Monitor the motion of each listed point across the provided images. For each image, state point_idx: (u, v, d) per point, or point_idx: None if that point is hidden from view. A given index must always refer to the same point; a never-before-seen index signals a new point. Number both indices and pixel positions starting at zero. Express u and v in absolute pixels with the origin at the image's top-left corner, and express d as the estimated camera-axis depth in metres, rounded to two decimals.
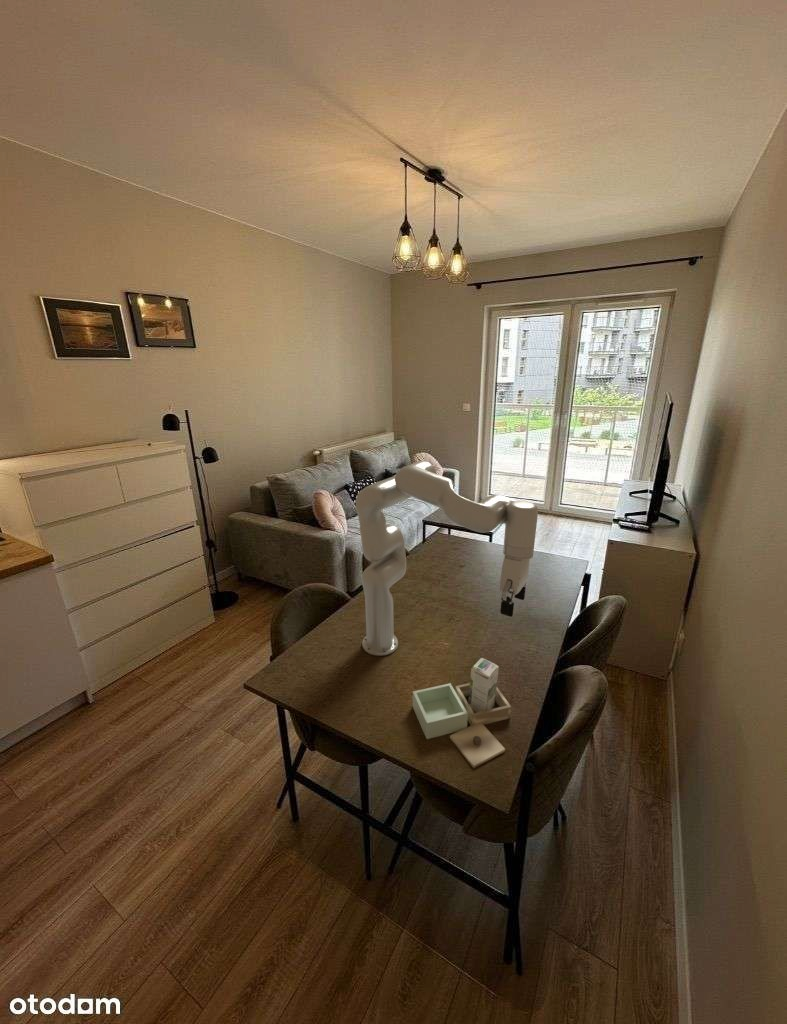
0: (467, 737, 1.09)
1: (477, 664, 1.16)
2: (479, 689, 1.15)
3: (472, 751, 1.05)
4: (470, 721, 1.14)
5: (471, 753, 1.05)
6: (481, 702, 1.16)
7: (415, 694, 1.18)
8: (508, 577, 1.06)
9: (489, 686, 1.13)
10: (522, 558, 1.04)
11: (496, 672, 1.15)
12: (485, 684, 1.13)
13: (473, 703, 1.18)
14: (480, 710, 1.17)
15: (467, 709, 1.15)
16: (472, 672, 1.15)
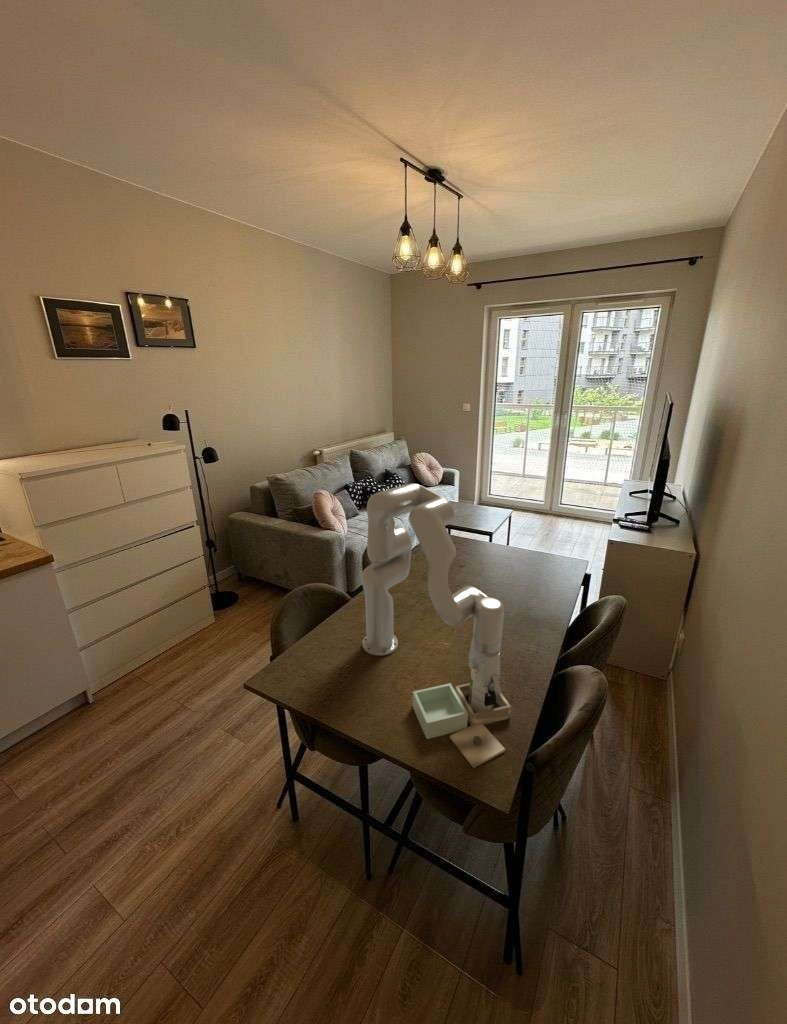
0: (467, 737, 1.09)
1: None
2: (479, 689, 1.15)
3: (472, 751, 1.05)
4: (470, 721, 1.14)
5: (471, 753, 1.05)
6: (481, 702, 1.16)
7: (415, 694, 1.18)
8: (493, 673, 1.10)
9: (489, 686, 1.13)
10: (499, 650, 1.11)
11: None
12: None
13: (473, 703, 1.18)
14: (480, 710, 1.17)
15: (467, 709, 1.15)
16: (472, 672, 1.15)
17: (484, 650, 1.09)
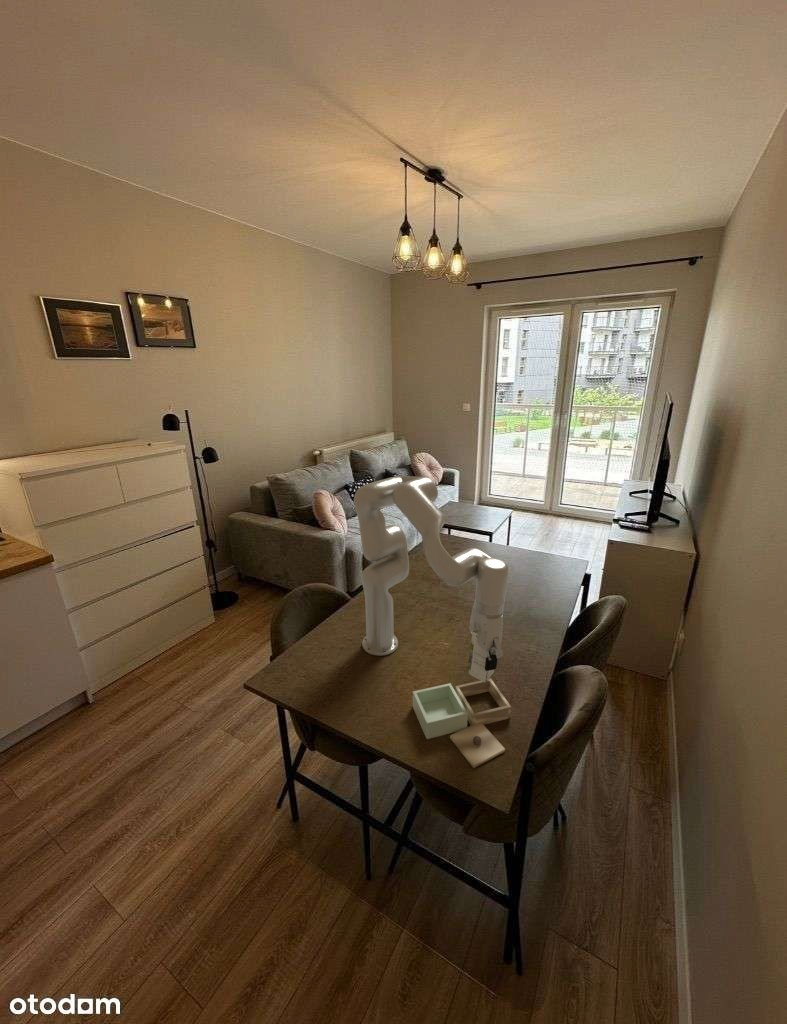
0: (467, 737, 1.09)
1: None
2: (479, 653, 1.12)
3: (472, 751, 1.05)
4: (470, 721, 1.14)
5: (471, 753, 1.05)
6: (482, 667, 1.12)
7: (415, 694, 1.18)
8: (495, 636, 1.06)
9: (490, 651, 1.10)
10: (502, 613, 1.07)
11: None
12: None
13: (473, 669, 1.15)
14: (480, 675, 1.14)
15: (467, 709, 1.15)
16: (473, 636, 1.12)
17: (486, 612, 1.06)
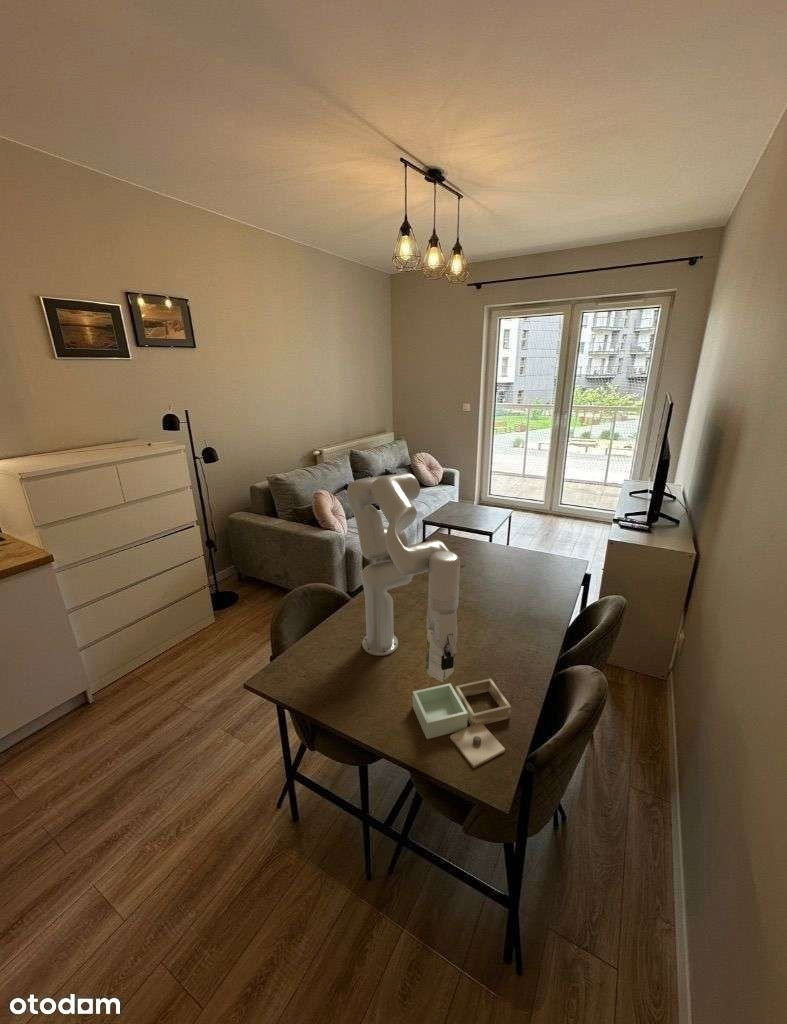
0: (467, 737, 1.09)
1: None
2: (436, 652, 1.07)
3: (472, 751, 1.05)
4: (470, 721, 1.14)
5: (471, 753, 1.05)
6: (439, 666, 1.07)
7: (415, 694, 1.18)
8: (448, 632, 1.02)
9: (446, 648, 1.05)
10: (456, 608, 1.02)
11: None
12: None
13: (431, 668, 1.09)
14: (438, 675, 1.08)
15: (467, 709, 1.15)
16: (428, 633, 1.07)
17: (439, 607, 1.01)
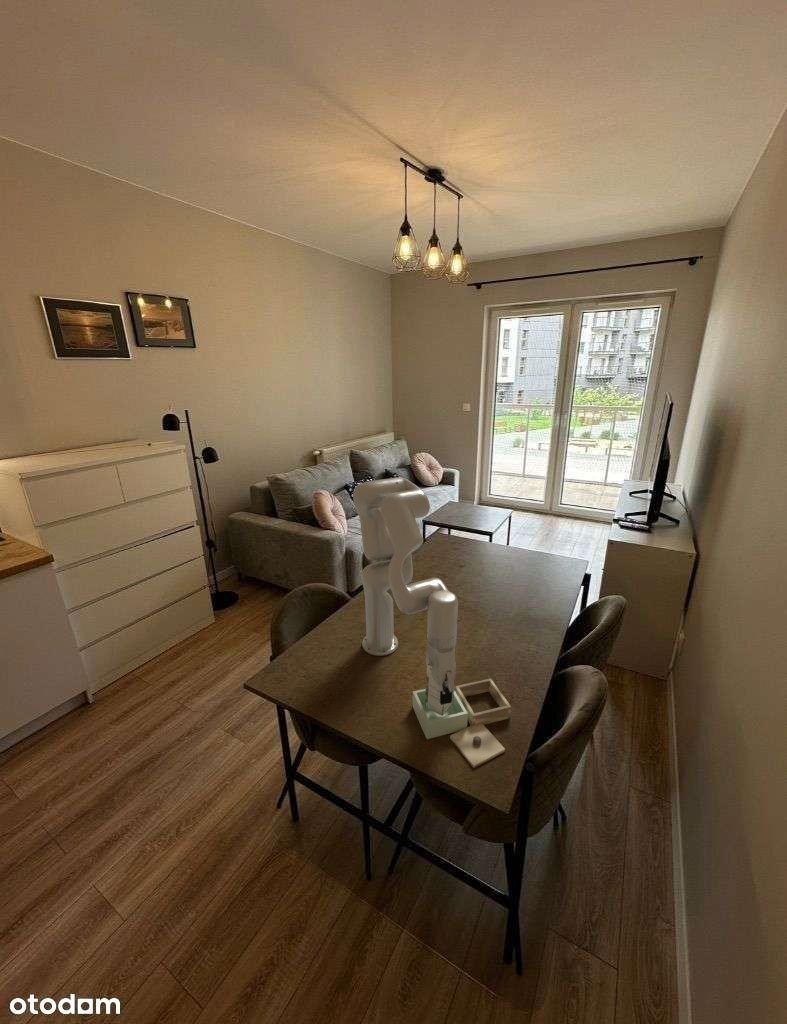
0: (467, 737, 1.09)
1: None
2: (435, 687, 1.10)
3: (472, 751, 1.05)
4: (470, 721, 1.14)
5: (471, 753, 1.05)
6: (438, 700, 1.11)
7: (415, 694, 1.18)
8: (447, 669, 1.05)
9: (444, 684, 1.08)
10: (454, 646, 1.06)
11: None
12: None
13: (430, 702, 1.13)
14: (437, 709, 1.12)
15: (467, 709, 1.15)
16: (428, 669, 1.10)
17: (438, 646, 1.05)
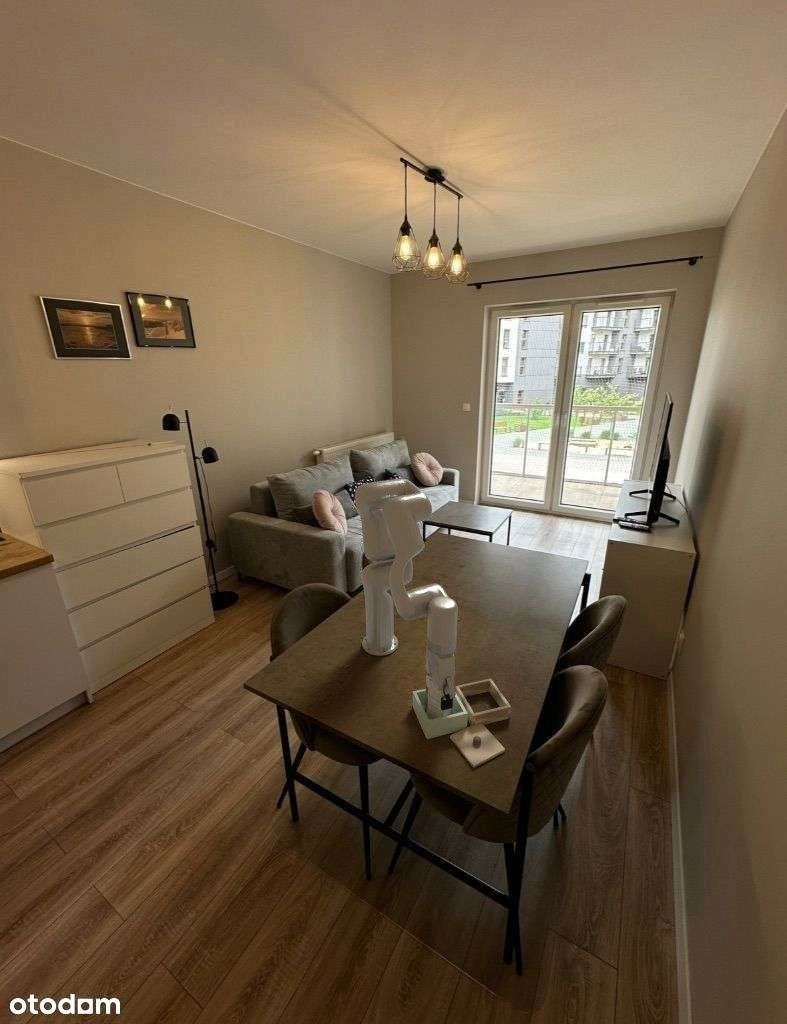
0: (467, 737, 1.09)
1: None
2: (434, 697, 1.11)
3: (472, 751, 1.05)
4: (470, 721, 1.14)
5: (471, 753, 1.05)
6: (437, 710, 1.12)
7: (415, 694, 1.18)
8: (447, 675, 1.06)
9: None
10: (453, 651, 1.06)
11: None
12: (439, 691, 1.09)
13: (429, 711, 1.14)
14: None
15: (467, 709, 1.15)
16: (427, 679, 1.11)
17: (437, 652, 1.05)
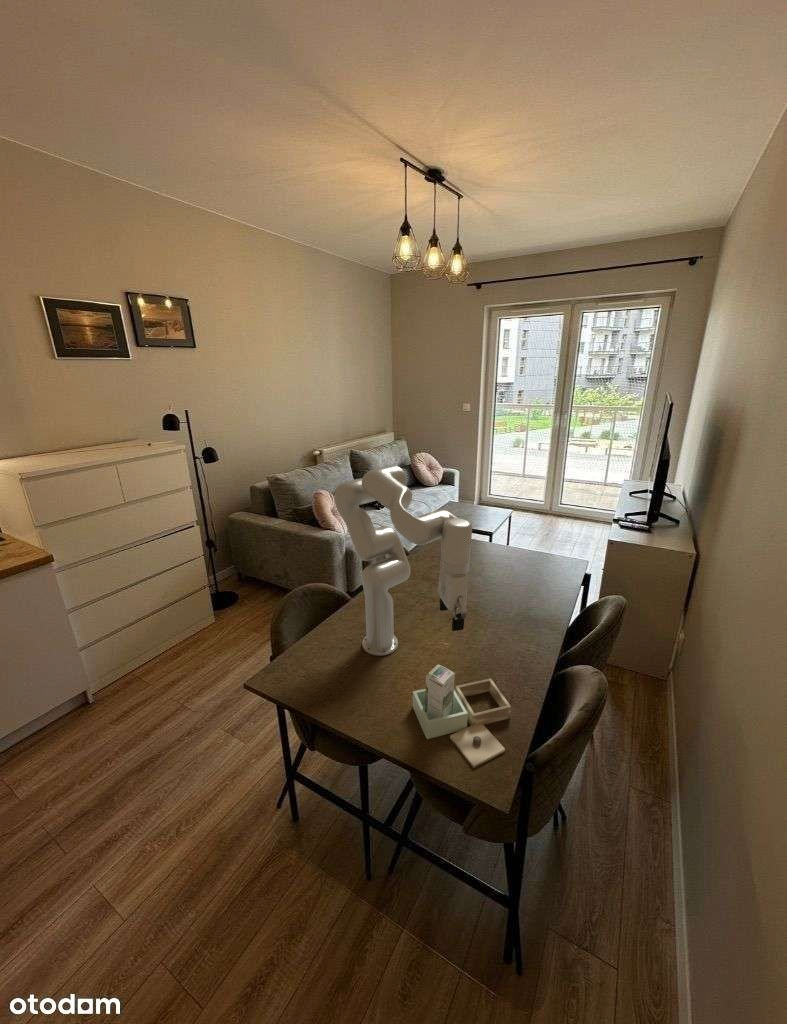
0: (467, 737, 1.09)
1: (433, 671, 1.12)
2: (434, 697, 1.11)
3: (472, 751, 1.05)
4: (470, 721, 1.14)
5: (471, 753, 1.05)
6: (437, 710, 1.12)
7: (415, 694, 1.18)
8: (459, 594, 1.08)
9: (443, 694, 1.09)
10: (466, 572, 1.08)
11: (452, 679, 1.11)
12: (439, 692, 1.09)
13: (429, 711, 1.14)
14: None
15: (467, 709, 1.15)
16: (427, 679, 1.11)
17: (450, 571, 1.07)
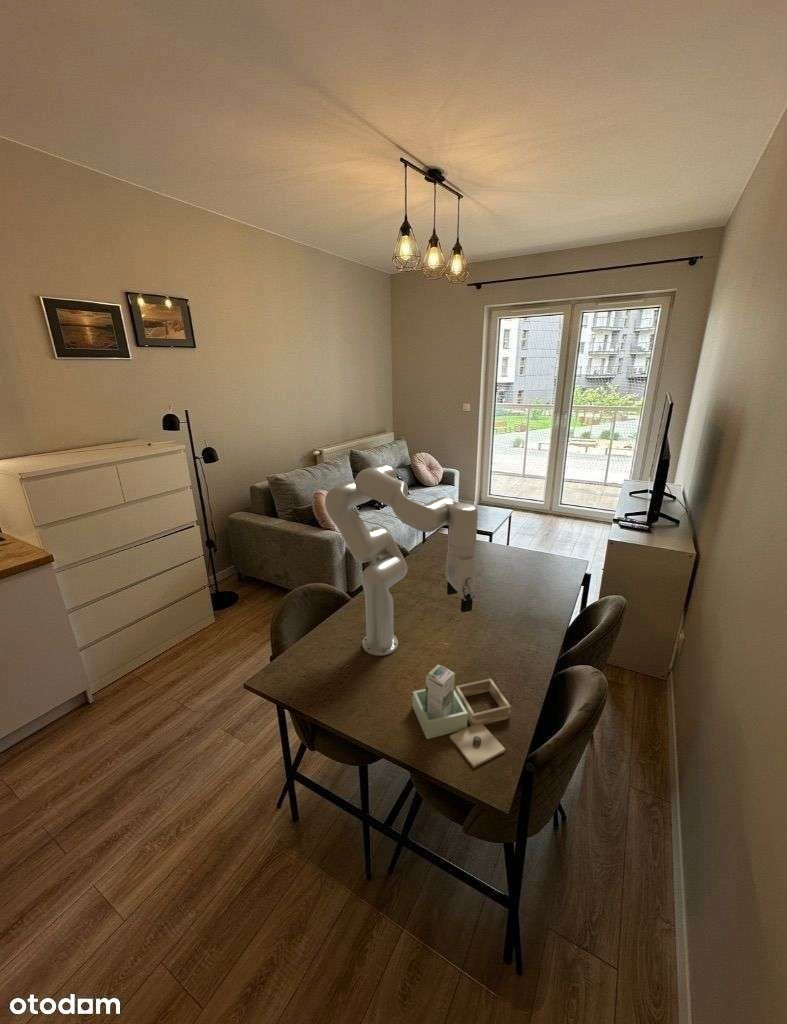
0: (467, 737, 1.09)
1: (433, 671, 1.12)
2: (434, 697, 1.11)
3: (472, 751, 1.05)
4: (470, 721, 1.14)
5: (471, 753, 1.05)
6: (437, 710, 1.12)
7: (415, 694, 1.18)
8: (467, 576, 1.13)
9: (443, 694, 1.09)
10: (473, 554, 1.13)
11: (452, 679, 1.11)
12: (439, 692, 1.09)
13: (429, 711, 1.14)
14: None
15: (467, 709, 1.15)
16: (427, 679, 1.11)
17: (458, 553, 1.12)
